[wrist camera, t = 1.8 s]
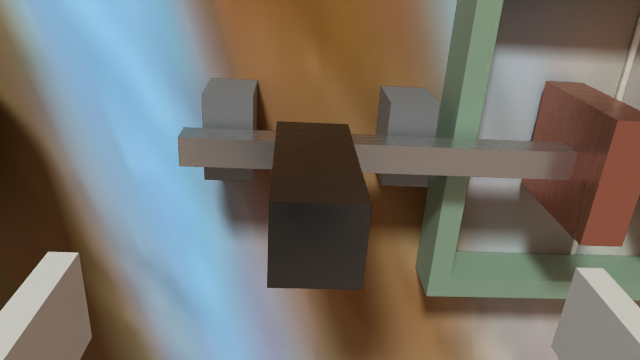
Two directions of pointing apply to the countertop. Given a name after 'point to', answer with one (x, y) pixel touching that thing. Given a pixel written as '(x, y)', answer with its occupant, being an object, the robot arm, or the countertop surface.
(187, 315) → the countertop surface
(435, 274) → the pitch
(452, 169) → the kicker rod
